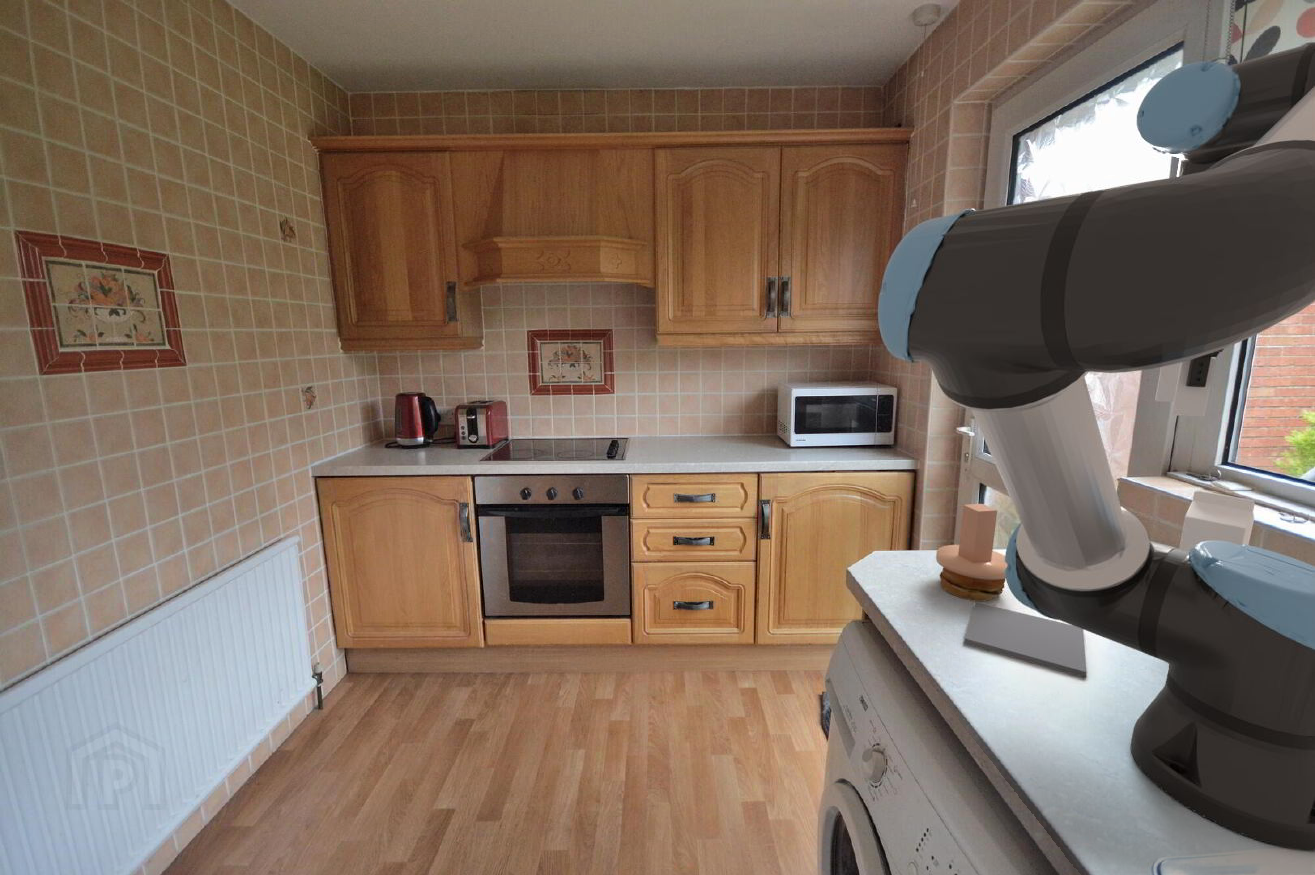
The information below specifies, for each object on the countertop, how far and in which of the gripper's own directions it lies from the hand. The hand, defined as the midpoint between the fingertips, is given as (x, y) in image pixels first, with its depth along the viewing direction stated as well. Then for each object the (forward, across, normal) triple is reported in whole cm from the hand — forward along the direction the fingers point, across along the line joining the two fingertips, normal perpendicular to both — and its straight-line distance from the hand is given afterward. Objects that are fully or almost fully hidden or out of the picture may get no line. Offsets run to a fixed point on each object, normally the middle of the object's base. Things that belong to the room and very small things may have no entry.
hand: (1177, 408), depth 69 cm
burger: (+35, -13, -20) cm, 43 cm away
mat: (+35, 0, -12) cm, 37 cm away
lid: (+30, -13, -20) cm, 39 cm away
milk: (+35, -12, +8) cm, 38 cm away
